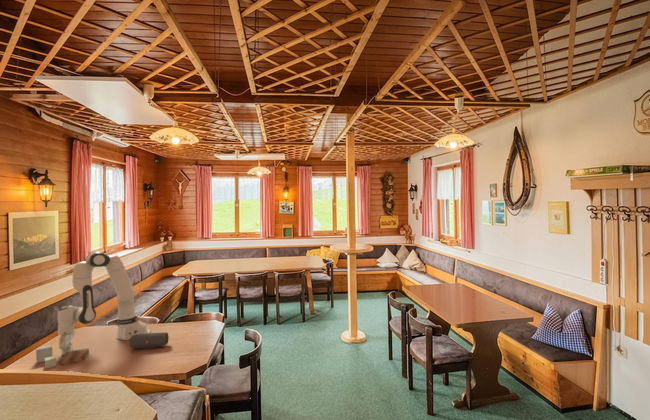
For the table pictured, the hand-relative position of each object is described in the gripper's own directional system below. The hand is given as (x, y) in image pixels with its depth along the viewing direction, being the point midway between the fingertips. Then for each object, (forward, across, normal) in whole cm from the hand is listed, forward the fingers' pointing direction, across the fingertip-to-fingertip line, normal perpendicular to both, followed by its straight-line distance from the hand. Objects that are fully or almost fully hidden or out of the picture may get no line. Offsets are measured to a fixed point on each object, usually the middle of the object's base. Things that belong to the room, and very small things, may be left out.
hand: (67, 350), depth 225 cm
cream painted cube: (+2, 0, 0) cm, 2 cm away
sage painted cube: (+2, -19, +4) cm, 20 cm away
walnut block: (+2, -15, -8) cm, 17 cm away
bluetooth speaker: (+2, -19, -51) cm, 55 cm away
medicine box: (+2, -8, +10) cm, 13 cm away
